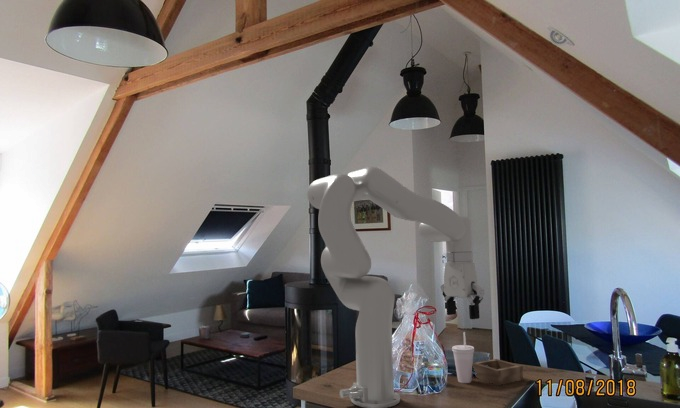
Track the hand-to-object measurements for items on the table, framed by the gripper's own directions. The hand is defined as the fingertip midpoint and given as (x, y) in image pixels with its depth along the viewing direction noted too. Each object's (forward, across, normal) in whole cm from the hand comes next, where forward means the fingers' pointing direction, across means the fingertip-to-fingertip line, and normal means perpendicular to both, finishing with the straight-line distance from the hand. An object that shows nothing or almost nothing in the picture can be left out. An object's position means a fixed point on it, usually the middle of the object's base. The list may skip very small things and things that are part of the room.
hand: (462, 316), depth 138 cm
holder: (+19, +3, +9) cm, 21 cm away
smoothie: (+19, 0, -1) cm, 19 cm away
